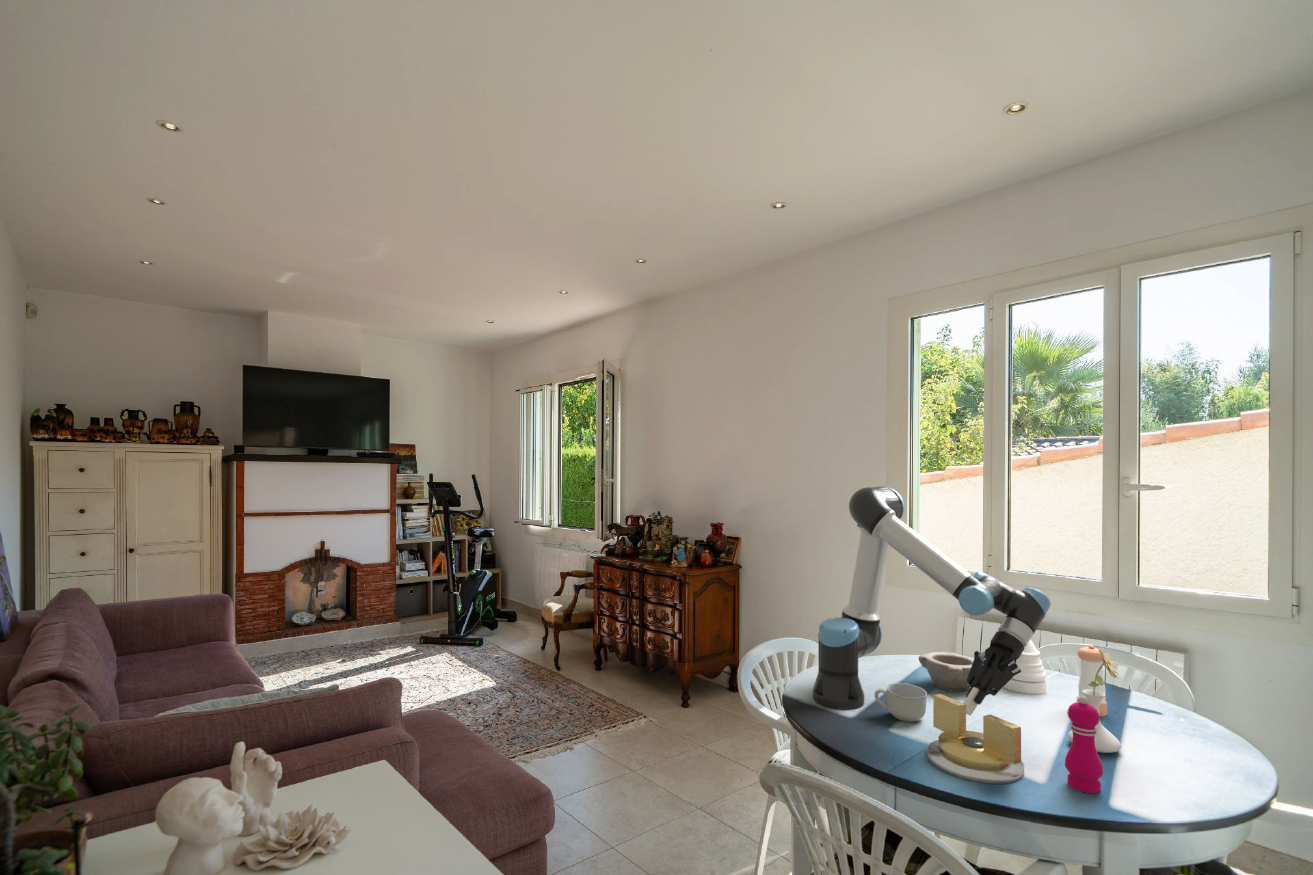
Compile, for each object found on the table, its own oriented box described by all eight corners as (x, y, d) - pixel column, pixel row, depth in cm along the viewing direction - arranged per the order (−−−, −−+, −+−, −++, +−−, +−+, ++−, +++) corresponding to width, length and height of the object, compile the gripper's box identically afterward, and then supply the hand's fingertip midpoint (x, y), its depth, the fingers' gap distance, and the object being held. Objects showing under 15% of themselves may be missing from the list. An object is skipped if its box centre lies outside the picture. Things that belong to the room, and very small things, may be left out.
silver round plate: (926, 772, 156) (926, 765, 156) (928, 738, 175) (928, 731, 175) (1029, 791, 148) (1029, 783, 148) (1019, 753, 167) (1019, 746, 167)
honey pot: (995, 679, 224) (994, 624, 224) (1036, 681, 222) (1036, 626, 223) (1009, 692, 211) (1009, 634, 212) (1053, 695, 209) (1053, 636, 210)
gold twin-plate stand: (932, 761, 157) (932, 716, 158) (933, 733, 173) (933, 692, 174) (1022, 777, 150) (1021, 729, 150) (1014, 746, 166) (1014, 703, 166)
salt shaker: (1106, 718, 190) (1105, 650, 191) (1075, 712, 195) (1075, 645, 195) (1107, 711, 196) (1107, 644, 197) (1078, 705, 201) (1078, 640, 201)
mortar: (993, 692, 211) (993, 662, 211) (953, 699, 205) (953, 668, 205) (950, 676, 227) (951, 648, 227) (912, 681, 220) (912, 653, 220)
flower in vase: (1104, 760, 163) (1104, 657, 164) (1058, 743, 173) (1057, 645, 174) (1134, 750, 169) (1133, 650, 170) (1088, 734, 179) (1087, 639, 180)
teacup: (925, 713, 193) (925, 685, 193) (928, 727, 182) (928, 697, 183) (874, 707, 197) (874, 679, 197) (874, 720, 187) (874, 691, 187)
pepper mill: (1057, 779, 153) (1057, 690, 154) (1087, 778, 154) (1086, 690, 155) (1080, 795, 146) (1079, 702, 147) (1111, 794, 147) (1110, 701, 148)
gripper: (1040, 654, 174) (995, 729, 167) (996, 641, 186) (952, 711, 179) (1026, 636, 172) (979, 711, 165) (983, 624, 184) (937, 693, 177)
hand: (965, 711), depth 172 cm, fingers closed
